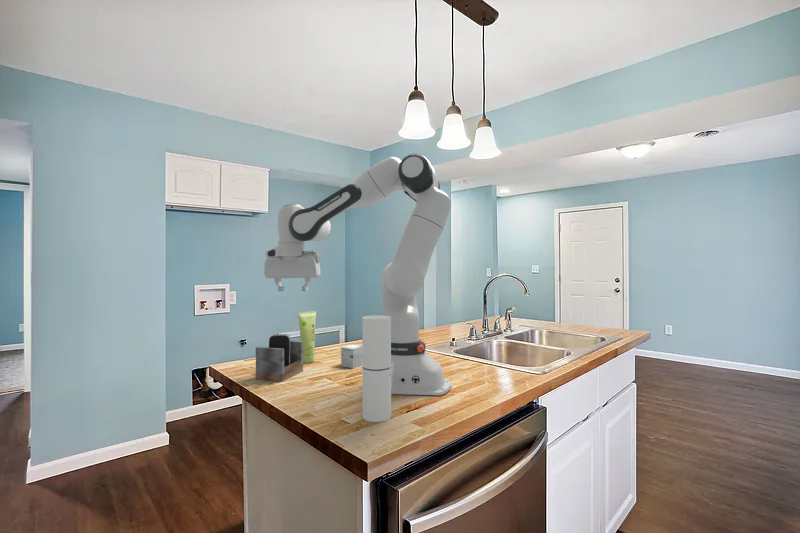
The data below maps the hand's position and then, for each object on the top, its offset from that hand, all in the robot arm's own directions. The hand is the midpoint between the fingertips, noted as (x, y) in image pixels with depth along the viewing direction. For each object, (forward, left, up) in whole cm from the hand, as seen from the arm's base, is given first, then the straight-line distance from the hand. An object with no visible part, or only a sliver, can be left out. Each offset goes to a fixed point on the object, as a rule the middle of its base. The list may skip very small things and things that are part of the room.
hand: (293, 291), depth 139 cm
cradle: (+3, +4, -29) cm, 29 cm away
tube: (+3, -15, -29) cm, 32 cm away
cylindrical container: (-41, +29, -29) cm, 58 cm away
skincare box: (-16, -14, -29) cm, 36 cm away
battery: (+3, +4, -26) cm, 27 cm away
